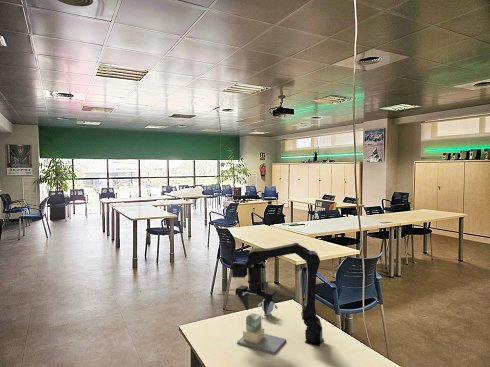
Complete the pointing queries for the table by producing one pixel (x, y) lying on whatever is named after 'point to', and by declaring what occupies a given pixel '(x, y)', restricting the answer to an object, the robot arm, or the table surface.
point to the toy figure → (268, 307)
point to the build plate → (261, 341)
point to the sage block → (253, 322)
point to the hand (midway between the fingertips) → (256, 311)
